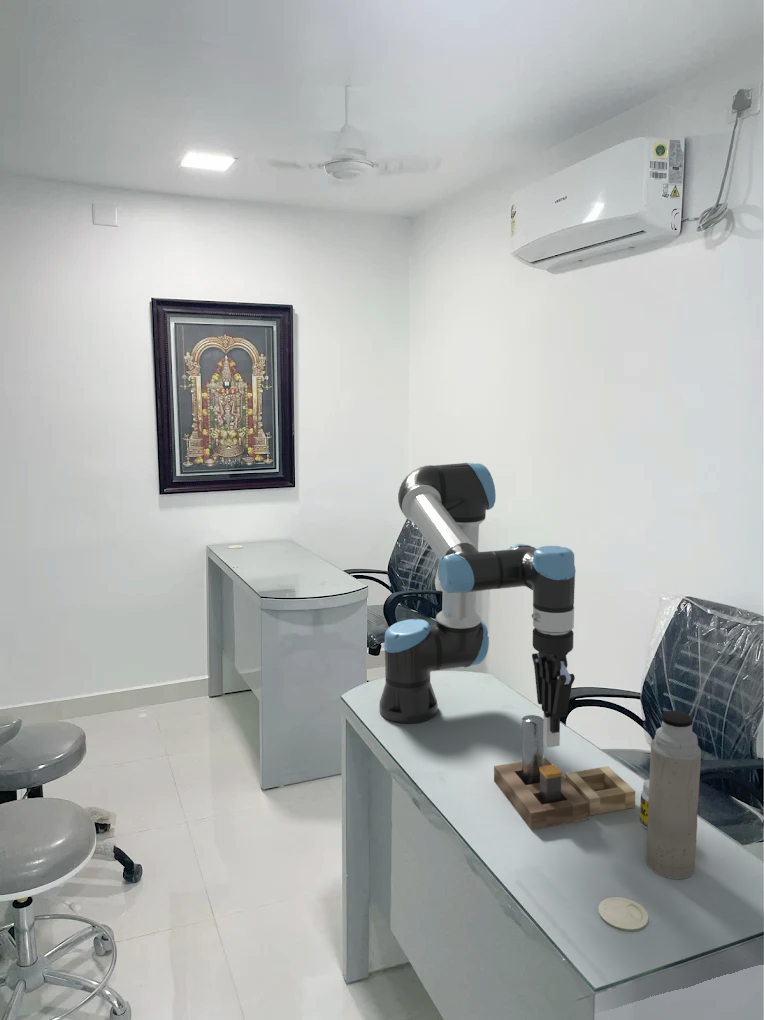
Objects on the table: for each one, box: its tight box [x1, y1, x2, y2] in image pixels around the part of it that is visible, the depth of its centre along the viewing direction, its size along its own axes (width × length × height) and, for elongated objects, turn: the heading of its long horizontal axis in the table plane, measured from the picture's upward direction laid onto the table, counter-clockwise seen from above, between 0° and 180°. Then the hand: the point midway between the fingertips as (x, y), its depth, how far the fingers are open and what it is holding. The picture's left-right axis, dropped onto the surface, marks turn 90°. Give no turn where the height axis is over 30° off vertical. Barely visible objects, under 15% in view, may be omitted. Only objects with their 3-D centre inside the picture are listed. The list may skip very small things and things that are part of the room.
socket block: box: [493, 757, 589, 831], centre depth 150 cm, size 18×12×4 cm, turn 14°
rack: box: [564, 765, 636, 816], centre depth 150 cm, size 10×10×4 cm
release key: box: [539, 764, 563, 804], centre depth 144 cm, size 3×3×7 cm
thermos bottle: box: [645, 710, 702, 880], centre depth 127 cm, size 8×8×28 cm
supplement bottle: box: [639, 779, 649, 830], centre depth 140 cm, size 5×5×8 cm
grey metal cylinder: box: [521, 714, 545, 785], centre depth 152 cm, size 4×4×16 cm
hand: (551, 744), depth 143 cm, fingers closed
